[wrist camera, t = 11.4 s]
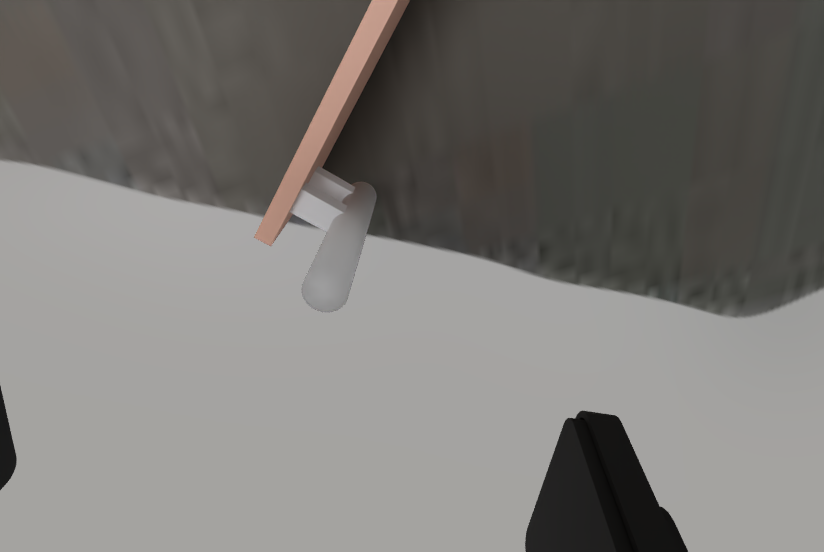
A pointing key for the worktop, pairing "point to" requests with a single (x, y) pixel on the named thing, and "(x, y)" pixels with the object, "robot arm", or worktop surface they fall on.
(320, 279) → the door
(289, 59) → the worktop surface
